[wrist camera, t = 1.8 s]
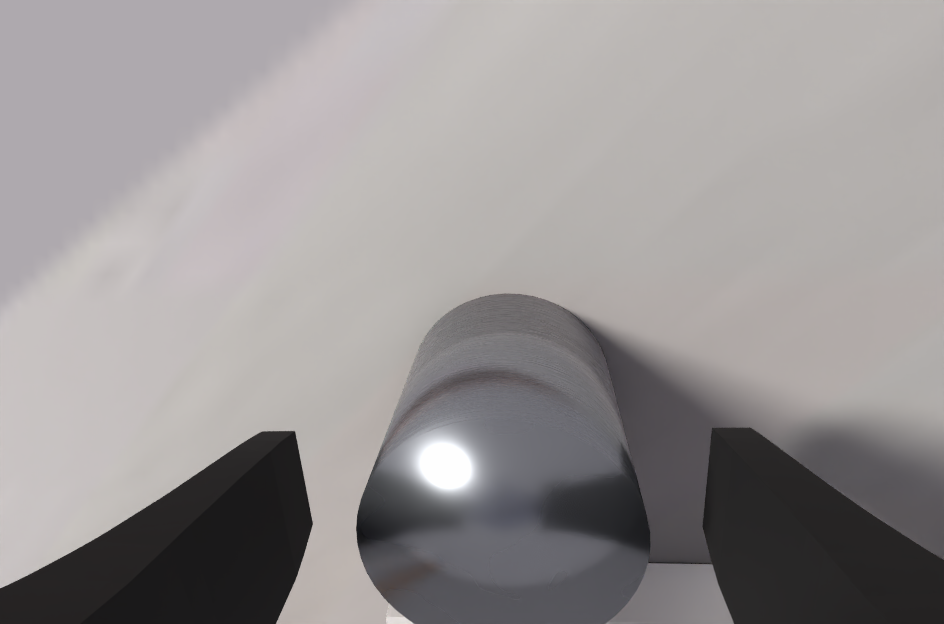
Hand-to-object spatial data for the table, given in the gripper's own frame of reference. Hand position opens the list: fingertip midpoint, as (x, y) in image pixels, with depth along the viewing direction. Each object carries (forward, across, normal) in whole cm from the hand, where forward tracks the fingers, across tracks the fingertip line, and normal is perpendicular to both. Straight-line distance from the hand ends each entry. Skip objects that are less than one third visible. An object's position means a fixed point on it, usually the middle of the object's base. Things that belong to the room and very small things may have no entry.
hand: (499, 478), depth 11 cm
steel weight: (+3, 0, 0) cm, 3 cm away
